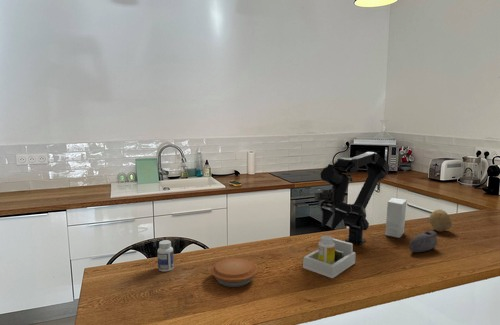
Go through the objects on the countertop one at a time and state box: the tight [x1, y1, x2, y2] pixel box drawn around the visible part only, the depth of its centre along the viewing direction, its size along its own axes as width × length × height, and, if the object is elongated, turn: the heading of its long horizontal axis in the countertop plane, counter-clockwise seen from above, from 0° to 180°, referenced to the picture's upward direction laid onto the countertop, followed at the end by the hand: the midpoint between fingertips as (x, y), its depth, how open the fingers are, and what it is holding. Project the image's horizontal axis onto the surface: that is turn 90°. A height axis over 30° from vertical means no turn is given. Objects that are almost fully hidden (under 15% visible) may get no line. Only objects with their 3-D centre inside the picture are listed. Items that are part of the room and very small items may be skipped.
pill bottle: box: [157, 239, 175, 273], centre depth 123 cm, size 5×5×10 cm
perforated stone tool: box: [408, 230, 438, 253], centre depth 138 cm, size 15×5×7 cm, turn 117°
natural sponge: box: [428, 209, 453, 232], centre depth 160 cm, size 9×9×10 cm
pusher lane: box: [302, 238, 356, 279], centre depth 125 cm, size 16×12×7 cm
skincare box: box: [385, 197, 407, 239], centre depth 156 cm, size 8×7×16 cm
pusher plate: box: [334, 249, 344, 262], centre depth 126 cm, size 1×8×4 cm, turn 47°
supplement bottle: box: [317, 234, 335, 265], centre depth 122 cm, size 6×6×10 cm
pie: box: [210, 257, 259, 288], centre depth 115 cm, size 16×16×5 cm
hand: (327, 227), depth 134 cm, fingers open, 9 cm apart
